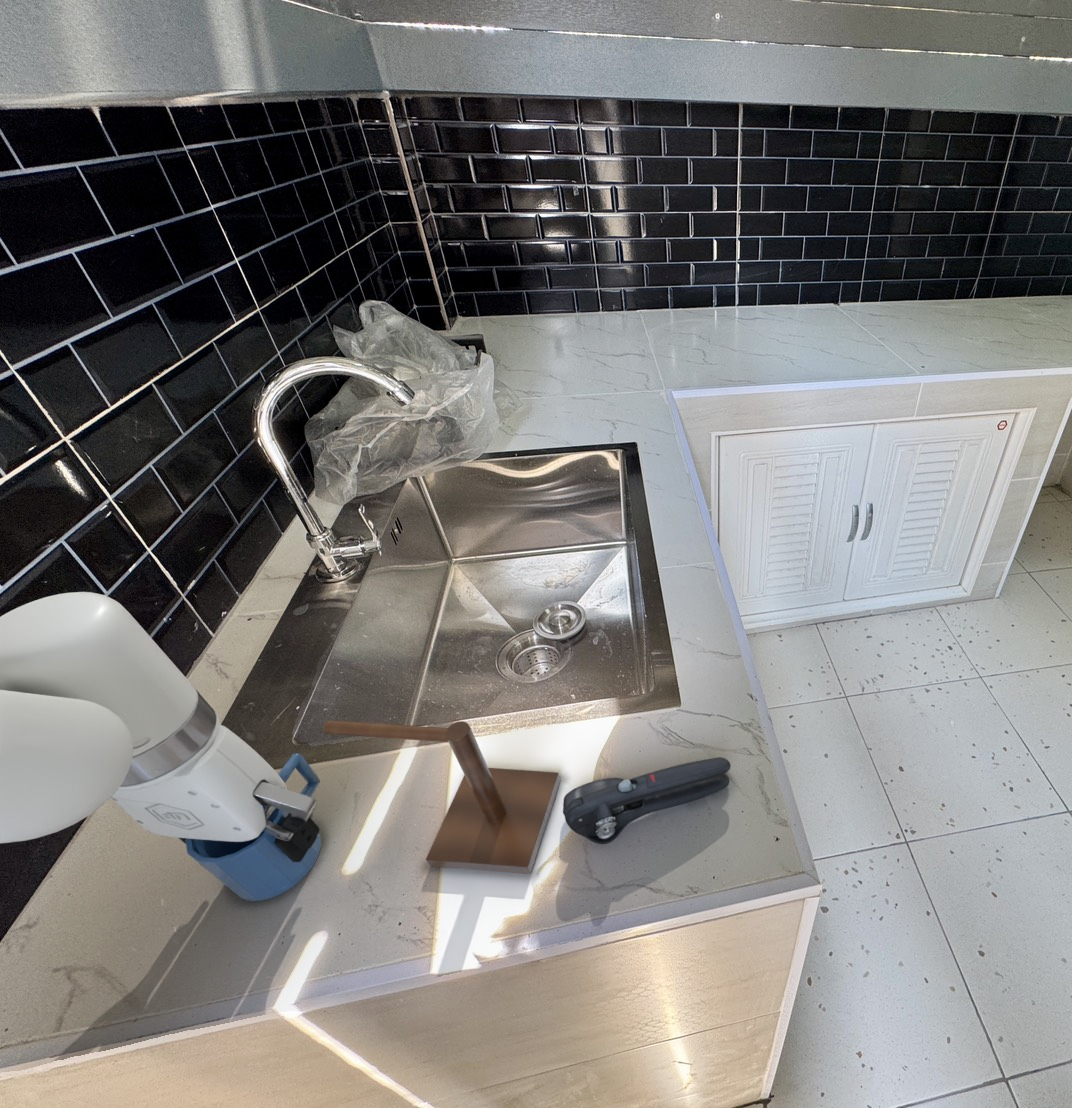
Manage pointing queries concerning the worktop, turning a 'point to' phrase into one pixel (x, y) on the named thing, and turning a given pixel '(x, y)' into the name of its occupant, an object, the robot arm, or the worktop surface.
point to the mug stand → (478, 802)
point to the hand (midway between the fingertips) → (261, 842)
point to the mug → (259, 852)
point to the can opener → (639, 797)
